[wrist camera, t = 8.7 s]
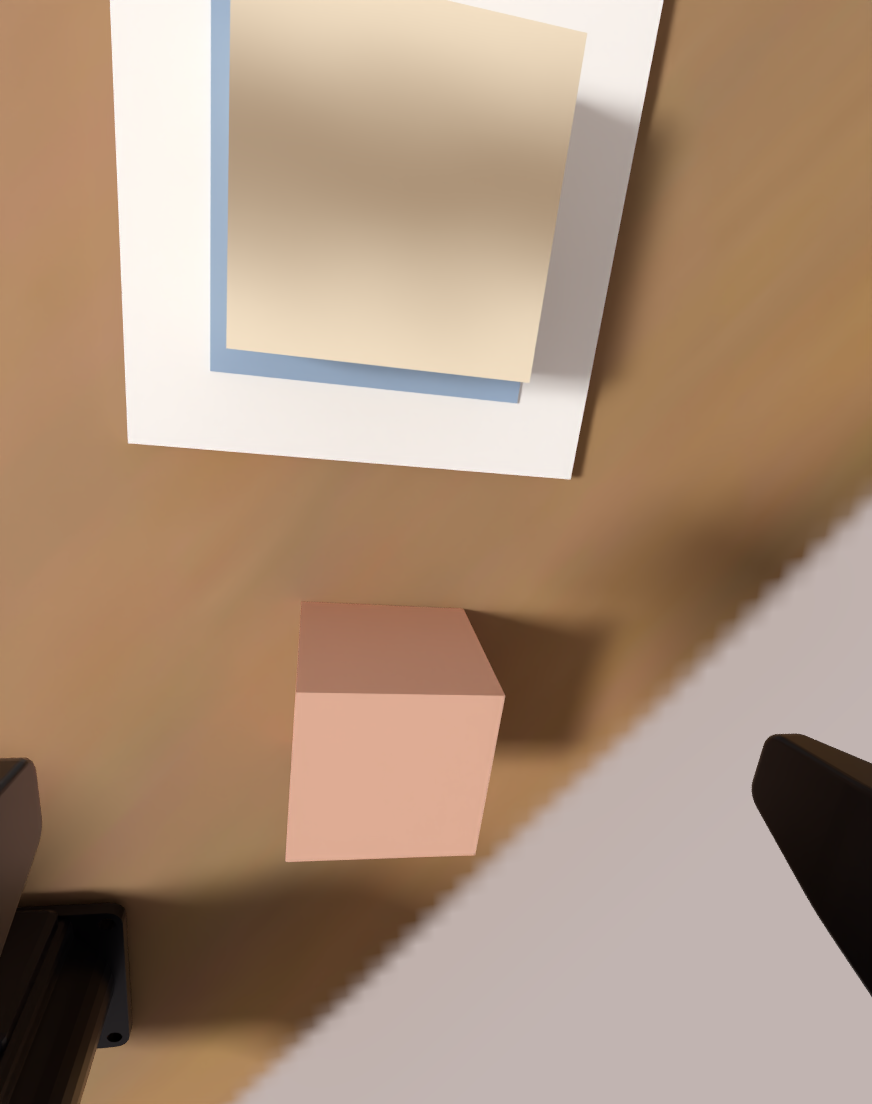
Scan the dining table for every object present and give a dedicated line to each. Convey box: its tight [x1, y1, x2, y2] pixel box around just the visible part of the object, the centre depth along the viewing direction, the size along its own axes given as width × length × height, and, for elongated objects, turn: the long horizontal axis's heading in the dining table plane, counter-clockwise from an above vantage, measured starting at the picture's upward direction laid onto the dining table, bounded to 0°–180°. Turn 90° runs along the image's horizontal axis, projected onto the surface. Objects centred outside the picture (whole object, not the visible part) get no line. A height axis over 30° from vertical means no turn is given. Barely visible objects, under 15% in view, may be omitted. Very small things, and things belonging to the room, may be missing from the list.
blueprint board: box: [110, 0, 663, 479], centre depth 16 cm, size 12×12×1 cm
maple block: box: [226, 0, 587, 383], centre depth 14 cm, size 6×6×3 cm
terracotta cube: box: [285, 601, 505, 862], centre depth 18 cm, size 5×5×5 cm
